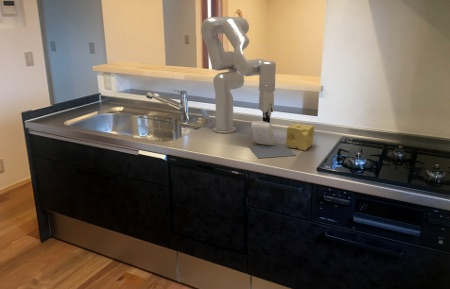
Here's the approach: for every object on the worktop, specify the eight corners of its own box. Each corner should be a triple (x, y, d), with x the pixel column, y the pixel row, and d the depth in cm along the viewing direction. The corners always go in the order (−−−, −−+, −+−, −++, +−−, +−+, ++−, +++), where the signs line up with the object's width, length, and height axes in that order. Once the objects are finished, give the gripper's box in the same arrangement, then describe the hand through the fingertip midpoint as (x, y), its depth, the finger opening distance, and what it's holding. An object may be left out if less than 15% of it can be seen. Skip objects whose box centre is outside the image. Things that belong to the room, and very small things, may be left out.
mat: (249, 147, 195) (249, 146, 194) (284, 144, 198) (284, 143, 198) (258, 158, 180) (258, 158, 180) (296, 155, 183) (296, 155, 183)
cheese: (305, 151, 189) (307, 130, 185) (284, 146, 194) (285, 126, 191) (313, 145, 197) (315, 125, 194) (292, 141, 202) (294, 122, 199)
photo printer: (276, 140, 197) (271, 120, 190) (272, 146, 194) (267, 125, 187) (257, 138, 202) (252, 118, 195) (254, 143, 200) (248, 123, 193)
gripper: (255, 85, 196) (254, 121, 202) (264, 91, 182) (263, 129, 188) (269, 84, 197) (268, 120, 203) (279, 90, 183) (278, 128, 189)
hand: (266, 124), depth 195 cm, fingers closed
